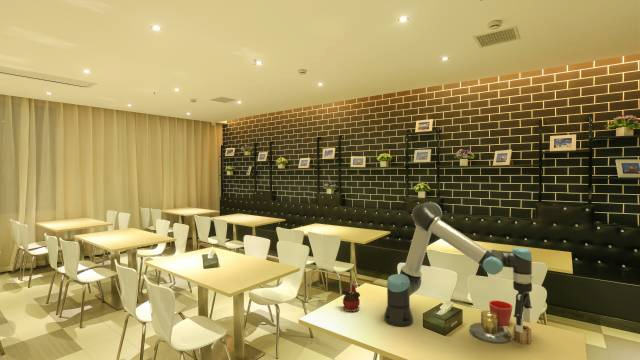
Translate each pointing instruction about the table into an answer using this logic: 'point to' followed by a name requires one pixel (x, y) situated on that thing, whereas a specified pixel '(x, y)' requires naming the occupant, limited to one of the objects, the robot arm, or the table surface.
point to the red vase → (351, 298)
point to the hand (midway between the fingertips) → (523, 326)
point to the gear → (522, 335)
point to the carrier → (490, 329)
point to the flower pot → (501, 311)
